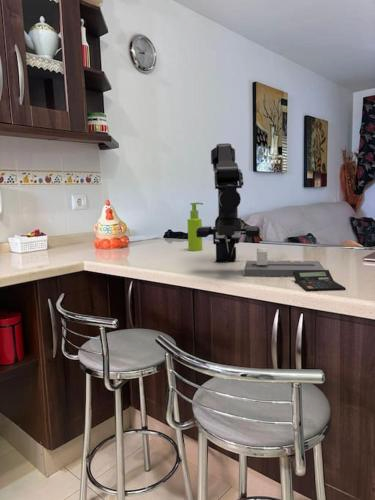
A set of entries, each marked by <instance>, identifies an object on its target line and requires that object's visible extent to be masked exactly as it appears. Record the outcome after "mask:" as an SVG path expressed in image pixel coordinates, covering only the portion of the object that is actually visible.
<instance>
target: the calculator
mask: <svg viewBox="0 0 375 500" xmlns="http://www.w3.org/2000/svg"><path fill="white" fill-rule="evenodd" d="M293 275H294V277H293V278H294V281H295V282H296V285H297V286H299V287H300V288H301V289H303V290H304V291H305V292H327V291H329V292H333V291H346V290H347V289H346V287H345V286H343V285H342V284H340V283H338V281H337V282H336V281H335V280H334V279H333V277H332V274H331V273H330V270H329V269H325V270H307V271H293Z"/></svg>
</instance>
